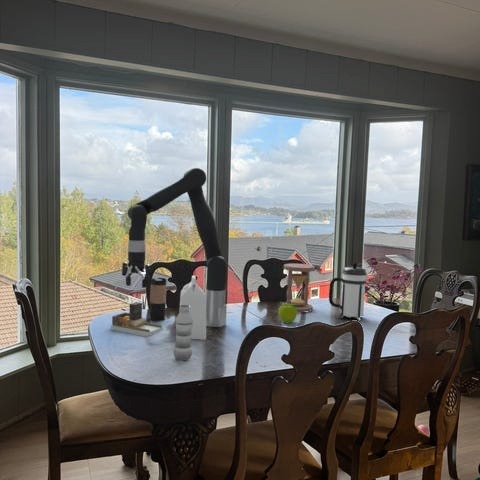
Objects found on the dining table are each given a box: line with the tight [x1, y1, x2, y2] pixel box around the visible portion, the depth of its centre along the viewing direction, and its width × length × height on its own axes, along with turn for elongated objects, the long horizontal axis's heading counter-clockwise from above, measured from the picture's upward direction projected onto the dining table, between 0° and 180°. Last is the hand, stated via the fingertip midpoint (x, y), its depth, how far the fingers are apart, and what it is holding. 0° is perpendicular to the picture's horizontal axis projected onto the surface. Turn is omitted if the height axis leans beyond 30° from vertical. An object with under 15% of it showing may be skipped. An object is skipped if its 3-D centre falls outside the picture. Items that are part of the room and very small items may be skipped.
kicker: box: [126, 301, 146, 327], centre depth 208 cm, size 5×7×10 cm
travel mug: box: [149, 277, 167, 322], centre depth 227 cm, size 8×8×20 cm
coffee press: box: [328, 262, 370, 318], centre depth 246 cm, size 17×16×30 cm
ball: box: [123, 316, 129, 324], centre depth 210 cm, size 4×4×4 cm
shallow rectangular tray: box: [109, 321, 164, 337], centre depth 208 cm, size 20×12×2 cm, turn 65°
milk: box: [178, 275, 207, 340], centre depth 202 cm, size 12×12×26 cm
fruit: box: [278, 301, 298, 323], centre depth 232 cm, size 9×9×10 cm
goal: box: [111, 312, 129, 327], centre depth 211 cm, size 6×8×4 cm, turn 155°
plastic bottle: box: [173, 305, 193, 361], centre depth 171 cm, size 6×7×20 cm
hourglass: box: [281, 263, 316, 312], centre depth 262 cm, size 18×18×25 cm
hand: (136, 286), depth 207 cm, fingers open, 8 cm apart
